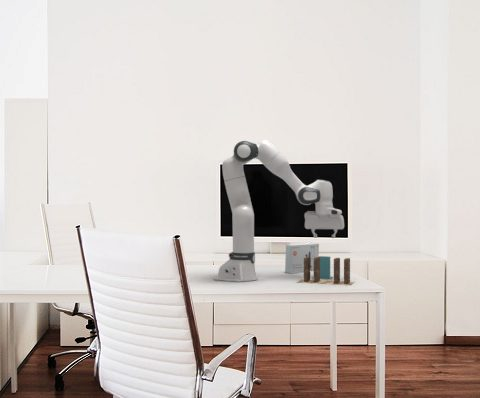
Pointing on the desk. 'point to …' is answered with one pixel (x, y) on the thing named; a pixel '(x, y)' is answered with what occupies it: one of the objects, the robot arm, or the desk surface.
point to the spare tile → (324, 267)
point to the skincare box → (300, 256)
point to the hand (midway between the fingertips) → (324, 237)
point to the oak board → (325, 282)
